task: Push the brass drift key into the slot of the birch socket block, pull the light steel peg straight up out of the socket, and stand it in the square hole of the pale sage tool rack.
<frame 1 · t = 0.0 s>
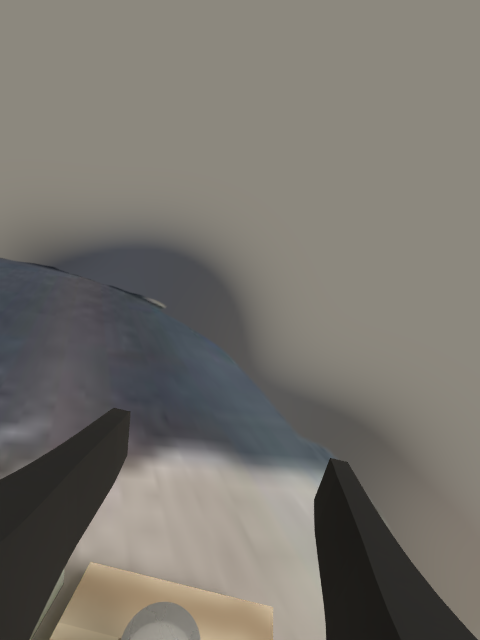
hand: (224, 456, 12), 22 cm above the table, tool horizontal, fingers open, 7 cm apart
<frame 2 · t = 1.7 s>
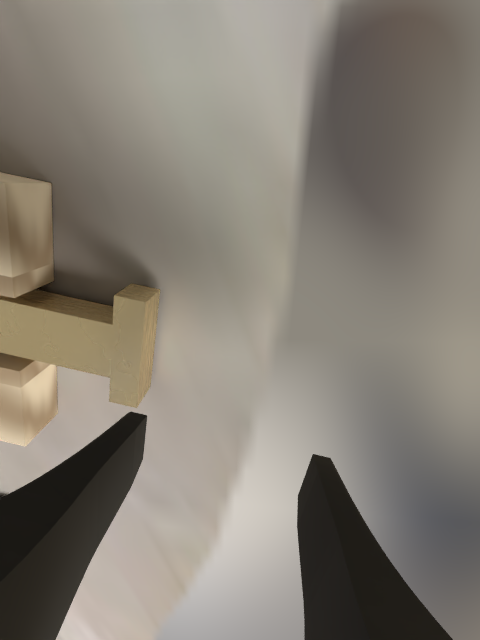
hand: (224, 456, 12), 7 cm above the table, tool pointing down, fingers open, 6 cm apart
drift key: (78, 333, 18), point 1 cm above the table, slide at 0.0 cm
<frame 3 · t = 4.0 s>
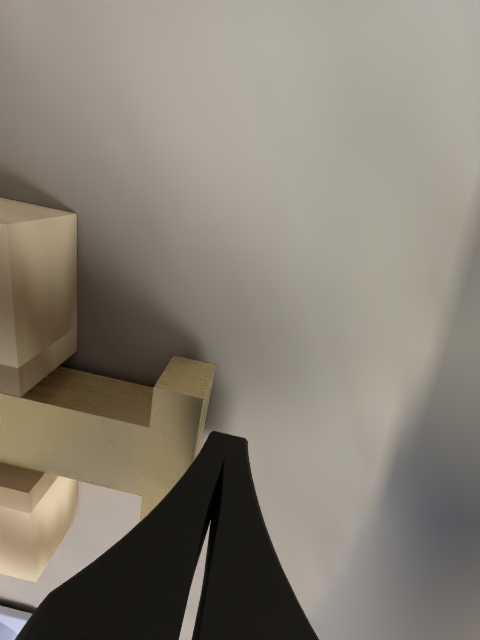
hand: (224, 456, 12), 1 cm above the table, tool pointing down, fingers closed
drift key: (94, 427, 12), point 2 cm above the table, slide at 0.7 cm, touching gripper
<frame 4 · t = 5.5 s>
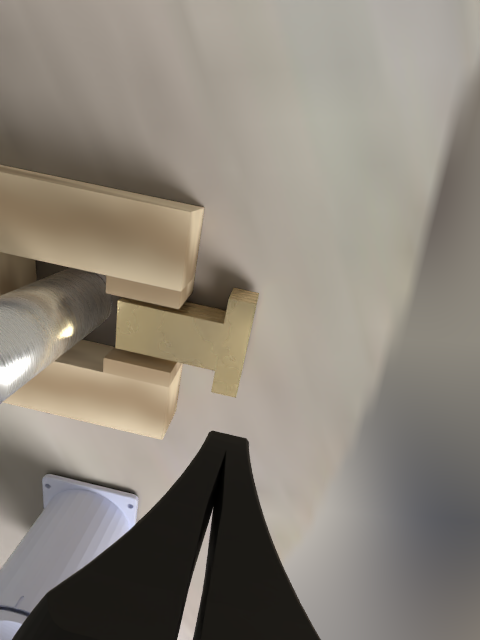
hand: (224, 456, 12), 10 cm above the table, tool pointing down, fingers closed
socket block: (81, 298, 22), on the table
drift key: (185, 332, 20), point 1 cm above the table, slide at 2.1 cm
steel peg: (35, 325, 18), in the socket block
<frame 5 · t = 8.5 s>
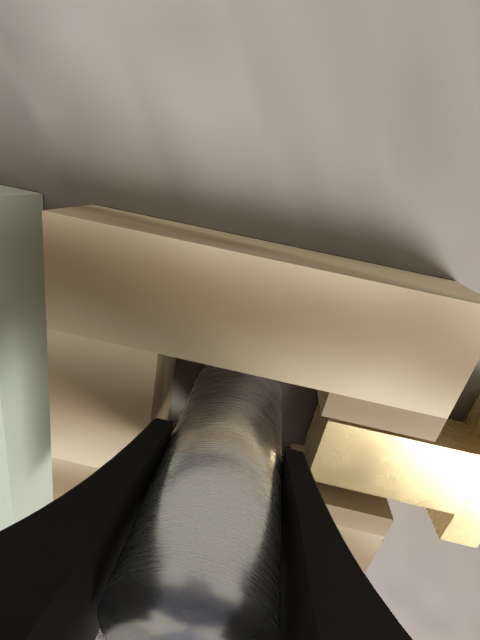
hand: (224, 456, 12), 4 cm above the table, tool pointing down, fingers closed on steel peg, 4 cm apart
socket block: (237, 394, 16), on the table
drift key: (405, 454, 14), point 2 cm above the table, slide at 2.1 cm
steel peg: (221, 470, 11), in the socket block, touching gripper
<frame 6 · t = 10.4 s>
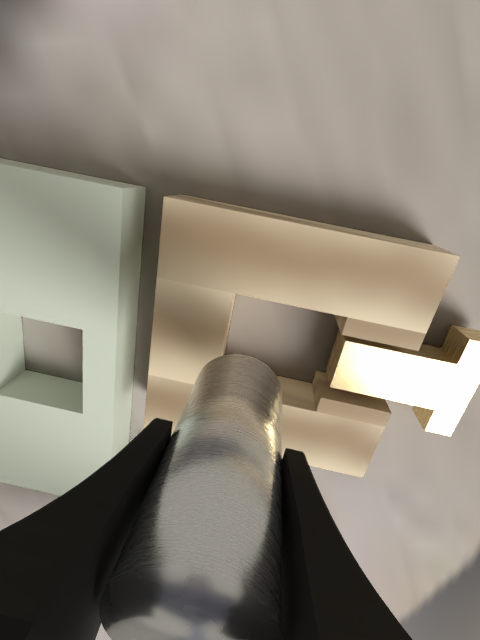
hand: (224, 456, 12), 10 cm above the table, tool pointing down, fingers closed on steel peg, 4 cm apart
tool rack: (64, 342, 23), on the table
socket block: (277, 333, 21), on the table
drift key: (399, 369, 20), point 2 cm above the table, slide at 2.1 cm
steel peg: (222, 468, 11), point 11 cm above the table, touching gripper
when the fingers open (6 cm above the table, at t = 12.7 s): steel peg drops 2 cm, resting in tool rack.
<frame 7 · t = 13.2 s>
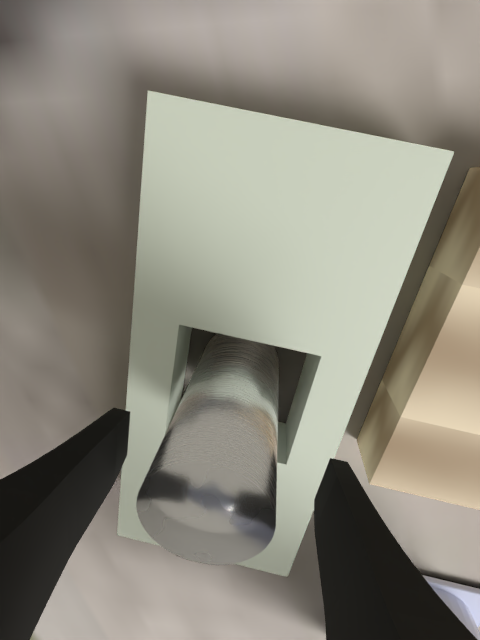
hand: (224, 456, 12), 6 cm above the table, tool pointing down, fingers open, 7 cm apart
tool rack: (243, 366, 18), on the table
steel peg: (228, 416, 14), in the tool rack
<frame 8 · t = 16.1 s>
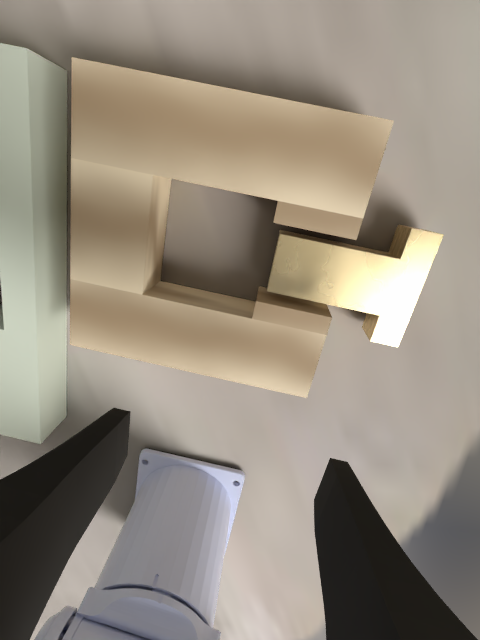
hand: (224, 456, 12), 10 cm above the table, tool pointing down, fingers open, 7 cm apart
socket block: (215, 242, 20), on the table
drift key: (342, 274, 18), point 2 cm above the table, slide at 2.1 cm
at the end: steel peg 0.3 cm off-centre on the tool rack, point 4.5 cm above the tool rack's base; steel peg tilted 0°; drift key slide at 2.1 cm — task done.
